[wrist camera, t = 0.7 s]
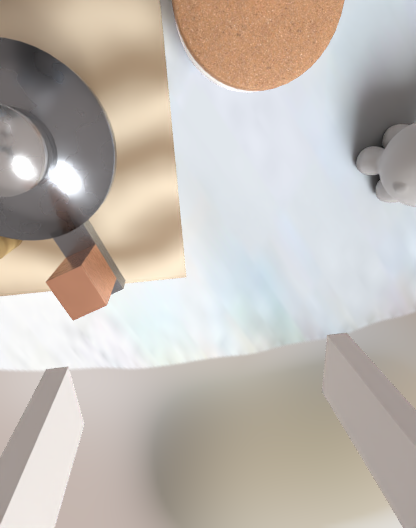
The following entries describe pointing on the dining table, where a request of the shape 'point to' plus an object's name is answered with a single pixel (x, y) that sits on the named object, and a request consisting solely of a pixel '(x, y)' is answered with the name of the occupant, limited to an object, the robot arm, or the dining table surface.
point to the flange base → (125, 131)
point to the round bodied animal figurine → (393, 165)
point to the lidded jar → (255, 39)
